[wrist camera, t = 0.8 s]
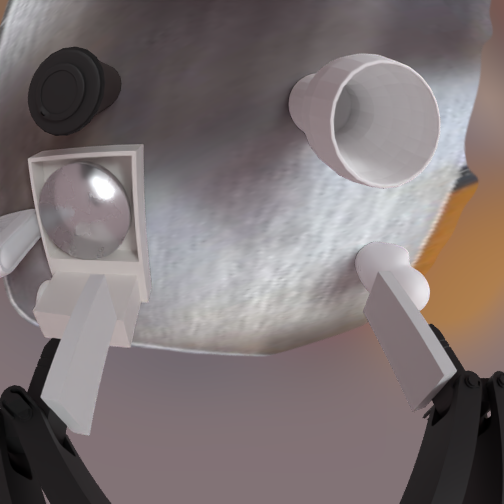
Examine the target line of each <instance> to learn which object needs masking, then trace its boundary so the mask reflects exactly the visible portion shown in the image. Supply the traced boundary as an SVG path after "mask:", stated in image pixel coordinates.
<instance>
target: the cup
mask: <svg viewBox="0 0 504 504" xmlns="http://www.w3.org/2000/svg"><path fill="white" fill-rule="evenodd" d="M289 112H290V115H291V117H292V120H293V121H294V123H295V124H296V125H297V127H298V128H300V129H301V130H302V131H303V132H305V134H306V137H307V140H308V142H309V145H310V146H311V148H312V149H313V151H314V152H315V153H316V155H317V156H318V158H319V159H321V160H322V161H323V162H324V163H325V164H327V165H328V166H329V167H330V168H331V169H333V170H334V171H335V172H336V173H337V174H338V175H340V176H342V177H344V178H346V179H348V180H351V181H353V182H356V183H360V184H363V185H367V186H371V187H377V188H383V189H384V188H392V187H398V186H401V185H403V184H405V183H408V182H410V181H412V180H413V179H414V178H415V177H417V176H418V175H419V174H421V173H422V172H423V170H424V169H425V168H426V167H427V165H428V164H429V163H430V161H431V159H432V157H433V155H434V153H435V151H436V149H437V145H438V141H439V137H440V113H439V108H438V104H437V101H436V99H435V96H434V94H433V92H432V90H431V88H430V87H429V85H428V84H427V83H426V82H425V80H424V79H423V78H422V76H421V75H419V74H418V73H417V72H415V71H414V70H413V69H412V68H410V67H409V66H407V65H404V64H402V63H399V62H397V61H394V60H392V59H389V58H386V57H383V56H380V55H377V54H354V55H349V56H345V57H341V58H337V59H334V60H333V61H331V62H330V63H328V64H326V65H325V66H323V67H322V68H321V69H320V70H319V71H318V72H317V73H313V74H310V75H307V76H305V77H304V78H302V79H301V80H299V81H298V82H297V83H296V85H295V86H294V87H293V89H292V91H291V93H290V96H289Z"/></svg>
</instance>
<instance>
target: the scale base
mask: <svg viewBox="0 0 504 504" xmlns="http://www.w3.org/2000/svg"><path fill="white" fill-rule="evenodd" d="M76 161H88V162H93V163H96V164H99V165H101V166H103V167H105V168H106V169H108V170H109V171H110V172H112V173H113V174H114V175H115V176H116V177H117V178H118V179H119V181H120V182H121V184H122V185H123V187H124V188H125V190H126V192H127V195H128V197H129V201H130V205H131V224H130V227H129V230H128V233H127V235H126V237H125V239H124V241H123V242H122V244H121V245H120V246H119V248H118V249H117V250H115V251H114V252H113V253H111V254H110V255H108V256H106V257H103V258H100V259H82V258H77V257H75V256H72V255H70V254H68V253H66V252H65V251H63V250H62V249H61V248H59V247H58V246H57V245H56V244H55V243H54V242H53V241H52V239H51V238H50V237H49V235H48V234H47V232H46V230H45V228H44V226H43V224H42V221H41V217H40V211H39V199H40V194H41V190H42V188H43V185H44V184H45V182H46V180H47V179H48V178H49V176H50V175H51V174H52V173H53V172H55V171H56V170H58V169H59V168H61V167H62V166H64V165H66V164H68V163H71V162H76ZM28 164H29V173H30V180H31V187H32V193H33V199H34V204H35V209H36V215H37V219H38V224H39V228H40V233H41V237H42V241H43V245H44V249H45V253H46V256H47V260H48V263H49V267H50V270H51V274H52V279H51V280H46V281H44V282H43V283H42V284H41V285H40V287H39V289H38V292H37V297H36V306H35V307H34V309H33V313H34V315H35V318H36V320H37V322H38V324H39V326H40V328H41V330H42V333H43V334H44V336H45V337H46V338H58V339H61V338H62V336H63V333H64V331H65V328H66V326H67V324H68V321H69V319H70V317H71V314H72V312H73V310H74V308H75V306H76V303H77V301H78V299H79V297H80V295H81V293H82V290H83V288H84V286H85V284H86V282H87V280H88V278H89V276H90V274H98V275H105V277H106V281H107V285H108V288H109V292H110V295H111V299H112V302H113V305H114V309H115V312H116V315H117V320H116V324H115V327H114V331H113V334H112V338H111V341H110V345H109V346H115V347H127V348H130V347H131V343H132V339H133V334H134V330H135V326H136V321H137V317H138V313H139V309H140V305H141V302H145V303H148V302H149V297H150V293H151V289H152V283H151V274H150V265H149V255H148V243H147V230H146V215H145V195H144V144H128V145H105V146H89V147H76V148H65V149H56V150H47V151H41V152H39V153H37V154H35V155H34V156H32V157H30V158H28Z"/></svg>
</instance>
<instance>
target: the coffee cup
mask: <svg viewBox="0 0 504 504" xmlns="http://www.w3.org/2000/svg"><path fill="white" fill-rule="evenodd" d="M120 90H121V79H120V76H119V74H118V72H117V71H116V70H115V69H114V68H113V67H111V66H109V65H107V64H105V63H103V62H101V61H99V60H98V59H97V57H96V56H95V55H93V54H92V53H91V52H90V51H88V50H86V49H83V48H79V47H69V48H63V49H61V50H59V51H57V52H55V53H53V54H51V55H50V56H49V57H48V58H47V59H46V60H45V61H44V62H42V63H41V65H40V66H39V68H38V69H37V70H36V72H35V74H34V76H33V78H32V81H31V83H30V87H29V92H28V105H29V110H30V113H31V116H32V118H33V119H34V121H35V122H36V124H37V125H38V126H39V127H40V128H41V129H43V130H44V131H45V132H47V133H50V134H53V135H55V136H59V135H69V134H72V133H74V132H77V131H79V130H80V129H82V128H83V127H84V126H85V125H87V124H88V123H89V122H90V121H91V119H92V118H93V117H94V115H95V114H97V113H99V112H100V111H102V110H103V109H105V108H107V107H108V106H109V105H111V104H112V103H113V102H114V101H115V100H116V99H117V97H118V95H119V93H120Z"/></svg>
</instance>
